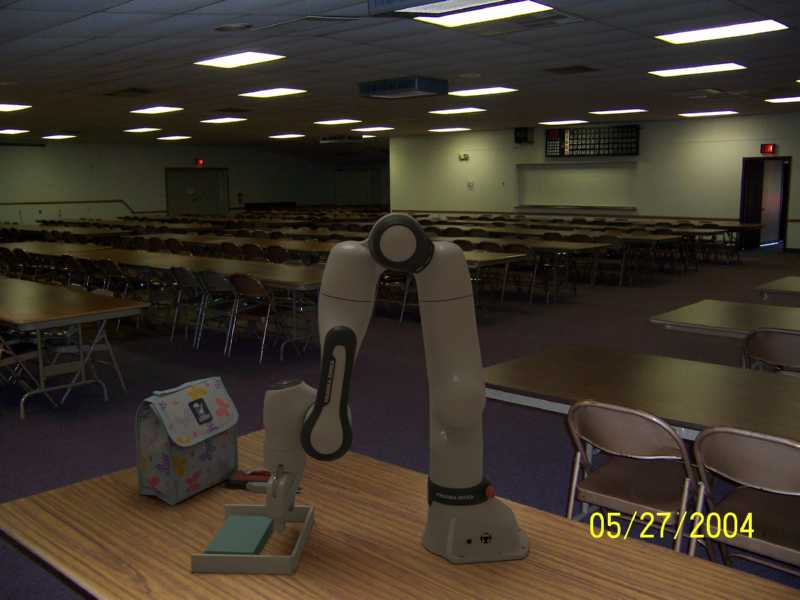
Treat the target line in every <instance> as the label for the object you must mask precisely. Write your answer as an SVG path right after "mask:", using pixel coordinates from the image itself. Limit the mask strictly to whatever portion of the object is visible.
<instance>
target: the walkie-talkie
mask: <svg viewBox="0 0 800 600" xmlns="http://www.w3.org/2000/svg"><path fill="white" fill-rule="evenodd" d="M270 477H271V474H270V471H269V470H267V469H266V468H265V467H255V468H253V469H252V470H248V468H246V467H245V468H244V469H243V470H242V469H238V470H235V471H234V472H233V473H232V475H231V476H230V478H228V479H229V480H228V481H225V482H224V487H228V488H230V490H231V489H236V490H237V489H239V490H240V489H241V490H247V491H249V492H251V493H256V494H259V493H261V494H266V492H267V484H268V481H269V479H270ZM297 491H302V487H300V486H299V487H298V489H297Z"/></svg>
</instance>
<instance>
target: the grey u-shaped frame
mask: <svg viewBox="0 0 800 600" xmlns="http://www.w3.org/2000/svg"><path fill="white" fill-rule="evenodd" d="M230 515H234V516H263V517H267V516H266V504H239V503H235V504H234V503H231V504H230V503H229V504H227V503H226V504H224V520H225V521H226V520H227V518H228V517H229V516H230ZM284 520H285V522H304V523H303V525H302V528H301V530H300V533H299V535H298V538H297V540H296V543H295V546H294V548H293V551H292V553H291V555H273V554H271V555H270V554H269V555H265V554H263V555H262V554H259V555H228V554H204V553H191V554H190V565H191V566H190V568H191V569H190V570H191V572H192V573H216V574H217V573H221V574H222V573H223V574H225V573H226V574H260V575H262V574H267V575H270V574H271V575H295V573H296V570H297V568H298V565H299V562H300V560H301V557H302V554H303V552H304V549H305V546H306V543H307V542H308V538H309V535H310V533H311V531H312V530H311V529H312V527H313V525H314V522H315V506H314V505H295V507H294V509H293V511H292V512H290V511H287V513H286V515H285V517H284Z"/></svg>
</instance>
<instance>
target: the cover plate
mask: <svg viewBox="0 0 800 600" xmlns="http://www.w3.org/2000/svg"><path fill="white" fill-rule="evenodd" d="M274 528H275V522H274V519H269V518H267V517H263V516H234V515H230V516H229V517H228V518H227V520H225V521H224V522H223V524H222V525H221V526H220V528H219V530H218V531H217V532H216V534H215V535H214V536H213V537H212V539H211V541H210V542H209V544H208V545H207V546H206V548H205V549H204V550H203V551H204V552H203V554H228V555H261V552H262V551H263V548H264V547H265V544H266V543H267V542H268V540H269V538H270V536H271V535H272V532H273V530H275V529H274Z"/></svg>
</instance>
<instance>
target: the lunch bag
mask: <svg viewBox="0 0 800 600" xmlns="http://www.w3.org/2000/svg"><path fill="white" fill-rule="evenodd" d="M152 394H153V395H152V396H151V395H150V396H149V397H147V398H145V399H143V401H142V402H141V404H140V405H139V407H138V409H137V410H136V413H135V414H136V415H135V422H134V431H135V433H134V434H135V450H136V453H135V454H136V471H137V487H138V493H139V494H142V495H146V496H156V497H157V498H159V499H161V500H163V502H166V503H167V504H169V505H171V506H176V504H179V503H180V502H182V501H184V500H186V499H188V498H191V497H192V496H194V495H197V494H198V493H201V492H202V491H204V490H206V489H208V488H209V489H210V488H211V487H213V486H215V485H217V484H219V483H220V484H221V483H222V482H224V481H226V480H228V479H229V478H230V476H231V475H232V473H233V472H234V471H235V470H239V451H238V450H239V449H238V446H239V445H238V444H239V443H238V433H237V423H238V421H239V412H238V409H237V408H236V405H235V403H234V401H233V400H232V398H231V397H230V395H229V393H228V391H227V389H226V387H225V385H224V383H223V381H222V379H221V376H212V377H211V376H210V377H207V378H202V379H197V380H192V381H188V382H186V383H183V384H181V385H179V386H178V387H174V388H170V389H166V390H162V391H161V390H160V391H159V390H155V391H152Z"/></svg>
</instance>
